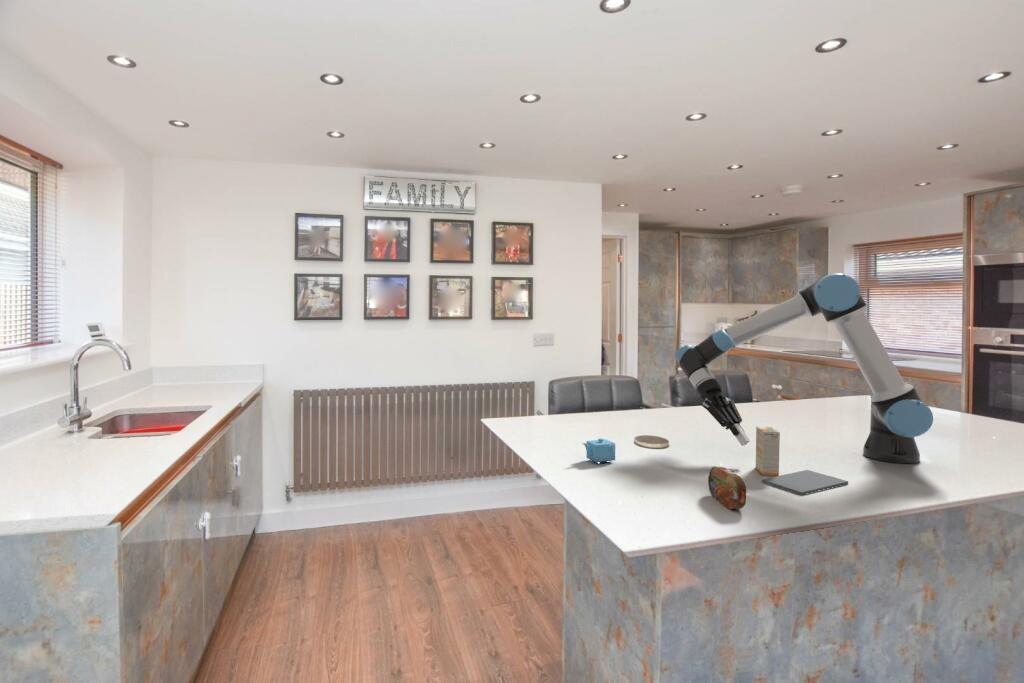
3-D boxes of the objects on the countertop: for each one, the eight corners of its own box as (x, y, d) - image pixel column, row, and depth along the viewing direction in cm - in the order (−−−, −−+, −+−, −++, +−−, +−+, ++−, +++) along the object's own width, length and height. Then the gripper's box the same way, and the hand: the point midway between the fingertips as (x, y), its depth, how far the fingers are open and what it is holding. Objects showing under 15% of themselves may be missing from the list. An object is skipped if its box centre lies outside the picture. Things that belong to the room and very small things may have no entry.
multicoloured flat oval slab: (706, 493, 138) (707, 462, 138) (718, 493, 138) (718, 461, 138) (735, 515, 123) (736, 480, 123) (748, 514, 123) (749, 479, 123)
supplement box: (779, 476, 152) (780, 432, 151) (762, 475, 153) (763, 431, 152) (771, 468, 160) (772, 426, 159) (754, 467, 161) (755, 425, 160)
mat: (807, 472, 156) (807, 469, 155) (848, 484, 145) (848, 481, 145) (761, 482, 147) (761, 479, 147) (801, 495, 136) (801, 492, 136)
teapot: (586, 466, 163) (586, 442, 162) (577, 461, 169) (577, 438, 168) (619, 462, 167) (619, 439, 167) (609, 457, 173) (609, 435, 172)
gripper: (713, 389, 182) (752, 447, 168) (685, 392, 177) (724, 452, 163) (725, 376, 177) (767, 434, 163) (697, 378, 172) (738, 439, 158)
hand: (745, 443), depth 163 cm, fingers closed
